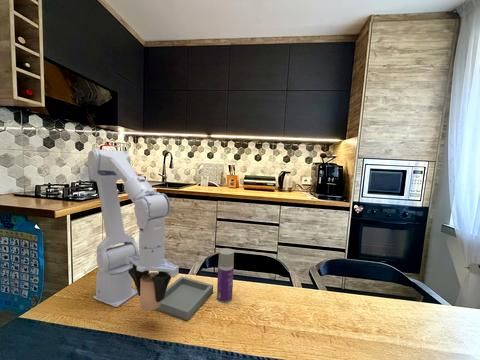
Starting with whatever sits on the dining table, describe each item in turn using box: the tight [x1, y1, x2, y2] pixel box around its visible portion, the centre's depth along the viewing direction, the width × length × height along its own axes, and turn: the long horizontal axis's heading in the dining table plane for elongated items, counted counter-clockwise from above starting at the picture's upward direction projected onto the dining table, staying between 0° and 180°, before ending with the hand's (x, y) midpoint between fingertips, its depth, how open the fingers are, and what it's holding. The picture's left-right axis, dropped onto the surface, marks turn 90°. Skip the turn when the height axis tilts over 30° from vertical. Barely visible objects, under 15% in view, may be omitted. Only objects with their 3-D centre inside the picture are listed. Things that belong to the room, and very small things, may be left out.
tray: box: [155, 275, 214, 322], centre depth 67 cm, size 12×14×2 cm
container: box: [216, 247, 235, 304], centre depth 68 cm, size 5×5×15 cm
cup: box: [139, 271, 162, 312], centre depth 56 cm, size 5×5×7 cm
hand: (151, 296), depth 56 cm, fingers closed on cup, 5 cm apart
